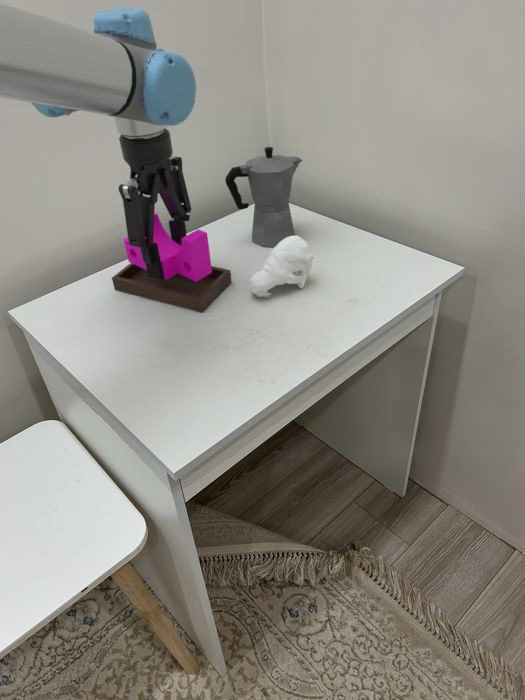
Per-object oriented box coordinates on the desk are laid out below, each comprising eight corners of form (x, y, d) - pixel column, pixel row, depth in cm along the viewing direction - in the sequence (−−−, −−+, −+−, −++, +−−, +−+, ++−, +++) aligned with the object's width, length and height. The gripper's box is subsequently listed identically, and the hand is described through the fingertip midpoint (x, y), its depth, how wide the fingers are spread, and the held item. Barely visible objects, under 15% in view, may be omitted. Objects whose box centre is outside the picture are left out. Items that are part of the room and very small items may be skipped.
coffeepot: (292, 220, 116) (290, 133, 104) (312, 238, 109) (312, 148, 97) (224, 237, 111) (214, 148, 100) (241, 257, 105) (232, 165, 93)
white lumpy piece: (315, 239, 90) (257, 269, 86) (318, 281, 96) (264, 311, 92) (291, 226, 94) (235, 254, 90) (296, 267, 100) (243, 296, 96)
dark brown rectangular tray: (114, 290, 98) (111, 277, 96) (147, 263, 105) (145, 251, 103) (202, 312, 91) (200, 299, 89) (231, 282, 98) (230, 269, 96)
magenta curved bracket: (128, 261, 98) (119, 223, 93) (155, 247, 101) (147, 210, 96) (185, 288, 90) (178, 248, 85) (212, 272, 93) (206, 232, 88)
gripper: (121, 158, 73) (153, 300, 87) (200, 113, 86) (217, 243, 101) (78, 152, 75) (116, 291, 90) (161, 110, 89) (183, 236, 104)
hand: (169, 265), depth 95 cm, fingers closed on magenta curved bracket, 7 cm apart
